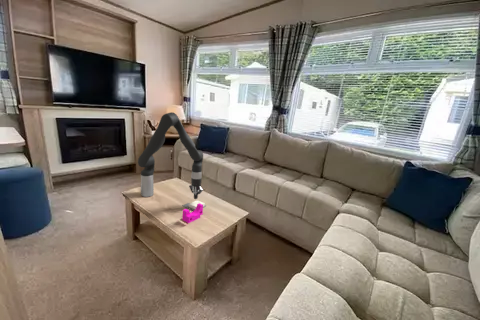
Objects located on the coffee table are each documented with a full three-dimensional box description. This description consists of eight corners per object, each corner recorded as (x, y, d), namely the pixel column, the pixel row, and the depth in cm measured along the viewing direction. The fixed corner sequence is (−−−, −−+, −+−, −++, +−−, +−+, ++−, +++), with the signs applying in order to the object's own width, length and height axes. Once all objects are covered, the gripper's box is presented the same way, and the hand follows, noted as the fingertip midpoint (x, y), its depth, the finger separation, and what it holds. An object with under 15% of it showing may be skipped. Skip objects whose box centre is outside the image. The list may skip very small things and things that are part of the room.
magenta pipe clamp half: (188, 223, 142) (188, 213, 140) (182, 220, 145) (182, 209, 143) (205, 215, 154) (205, 206, 152) (199, 212, 157) (199, 203, 155)
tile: (188, 203, 163) (196, 207, 159) (197, 200, 170) (204, 203, 166) (188, 206, 163) (196, 210, 159) (197, 203, 171) (204, 206, 167)
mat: (182, 205, 165) (182, 205, 165) (193, 201, 175) (193, 200, 175) (195, 211, 158) (195, 211, 158) (206, 206, 168) (206, 205, 168)
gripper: (186, 176, 161) (185, 197, 165) (199, 180, 154) (198, 202, 158) (193, 174, 167) (192, 195, 171) (206, 178, 160) (205, 199, 164)
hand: (195, 198), depth 164 cm, fingers closed
